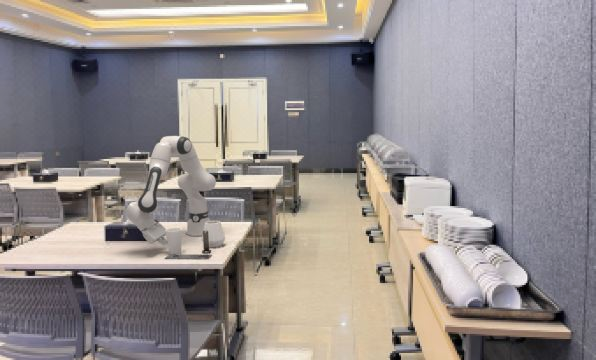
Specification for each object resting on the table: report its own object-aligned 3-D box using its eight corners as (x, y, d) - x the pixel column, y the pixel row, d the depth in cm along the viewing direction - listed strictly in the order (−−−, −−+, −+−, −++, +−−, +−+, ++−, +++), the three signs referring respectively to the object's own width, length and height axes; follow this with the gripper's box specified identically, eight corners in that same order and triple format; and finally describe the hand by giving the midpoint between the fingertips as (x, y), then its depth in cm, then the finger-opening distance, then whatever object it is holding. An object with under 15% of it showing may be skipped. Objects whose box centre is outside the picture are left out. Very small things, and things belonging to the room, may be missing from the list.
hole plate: (169, 255, 285) (169, 254, 285) (212, 255, 282) (212, 254, 282) (164, 259, 278) (164, 257, 278) (208, 259, 275) (208, 257, 275)
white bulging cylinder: (229, 243, 308) (228, 220, 307) (219, 249, 296) (218, 224, 294) (208, 242, 312) (207, 219, 310) (198, 248, 299) (197, 224, 298)
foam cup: (169, 255, 284) (168, 232, 283) (164, 252, 292) (162, 229, 291) (186, 252, 289) (185, 229, 288) (180, 249, 297) (179, 227, 296)
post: (203, 251, 292) (202, 230, 290) (212, 251, 291) (211, 230, 290) (200, 253, 287) (199, 232, 285) (209, 253, 286) (208, 232, 285)
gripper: (144, 226, 280) (162, 244, 280) (158, 219, 301) (175, 235, 301) (136, 234, 282) (155, 252, 282) (151, 226, 302) (168, 243, 302)
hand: (165, 243), depth 291 cm, fingers closed, pressing on foam cup
